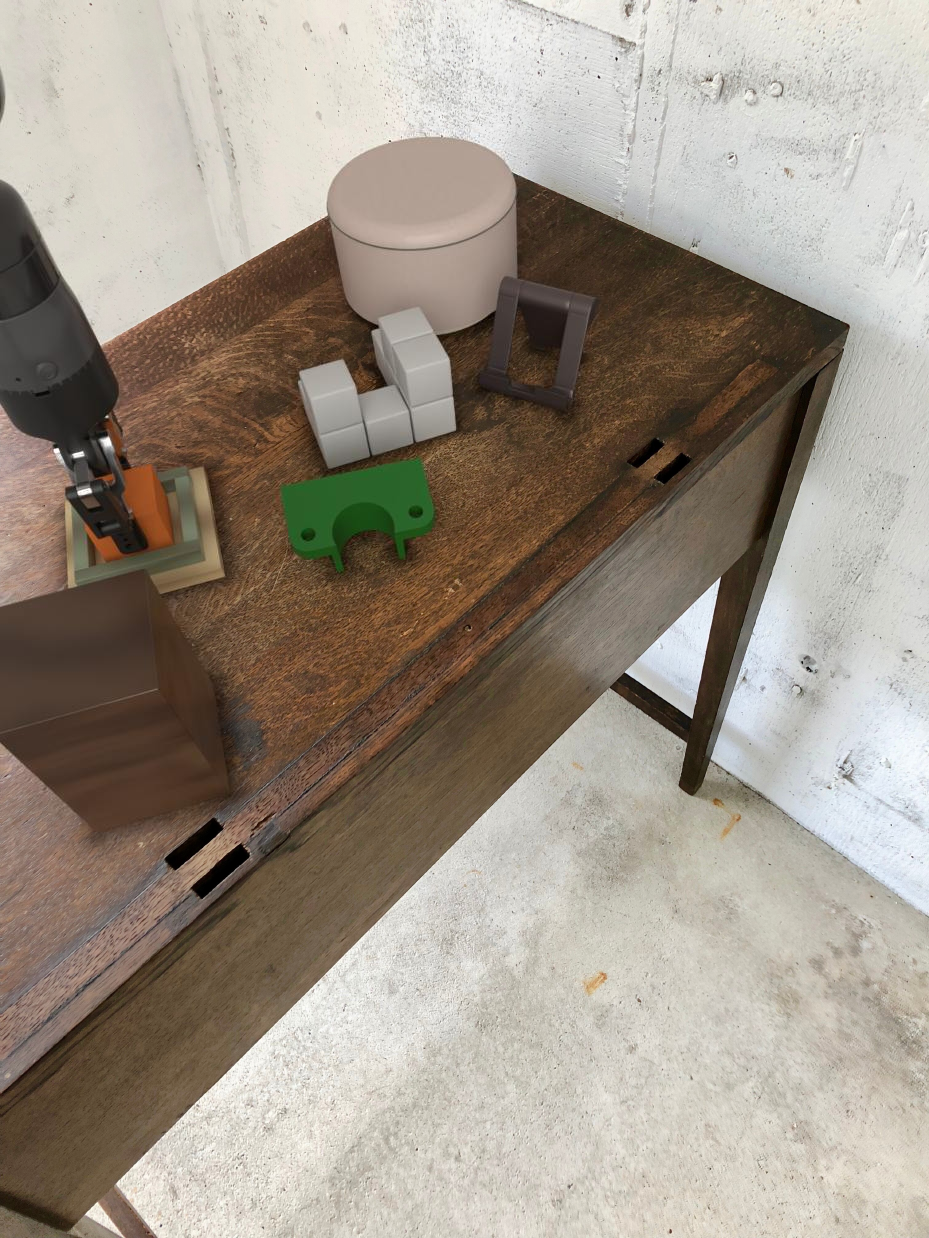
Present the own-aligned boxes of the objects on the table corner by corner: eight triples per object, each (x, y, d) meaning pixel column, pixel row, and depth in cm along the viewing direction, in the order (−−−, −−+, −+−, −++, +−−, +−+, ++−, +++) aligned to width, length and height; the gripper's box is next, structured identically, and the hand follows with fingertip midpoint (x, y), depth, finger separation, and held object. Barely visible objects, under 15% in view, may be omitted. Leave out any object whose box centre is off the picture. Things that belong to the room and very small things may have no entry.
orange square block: (174, 544, 70) (157, 511, 67) (105, 563, 70) (84, 530, 66) (167, 497, 74) (151, 463, 70) (102, 514, 73) (82, 480, 70)
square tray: (225, 576, 70) (215, 555, 68) (75, 617, 69) (60, 596, 67) (207, 475, 77) (197, 453, 75) (70, 510, 76) (56, 488, 74)
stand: (230, 794, 59) (158, 688, 48) (97, 833, 58) (-9, 735, 47) (214, 685, 64) (145, 567, 53) (91, 720, 63) (-6, 607, 52)
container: (452, 221, 98) (443, 112, 88) (554, 295, 89) (556, 182, 79) (313, 285, 93) (288, 176, 83) (407, 370, 84) (391, 258, 74)
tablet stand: (477, 391, 81) (472, 314, 74) (513, 341, 85) (511, 263, 78) (564, 417, 79) (567, 339, 72) (598, 364, 82) (604, 285, 76)
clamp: (335, 596, 74) (272, 563, 66) (323, 534, 76) (261, 495, 68) (461, 543, 70) (411, 502, 62) (445, 480, 73) (394, 432, 64)
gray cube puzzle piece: (414, 353, 85) (405, 280, 79) (457, 431, 78) (450, 358, 72) (295, 387, 83) (275, 315, 77) (328, 470, 77) (309, 399, 70)
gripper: (-20, 300, 61) (83, 474, 75) (-26, 435, 53) (90, 602, 66) (89, 276, 62) (170, 452, 75) (99, 404, 53) (188, 575, 67)
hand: (132, 521), depth 71 cm, fingers closed on orange square block, 5 cm apart
